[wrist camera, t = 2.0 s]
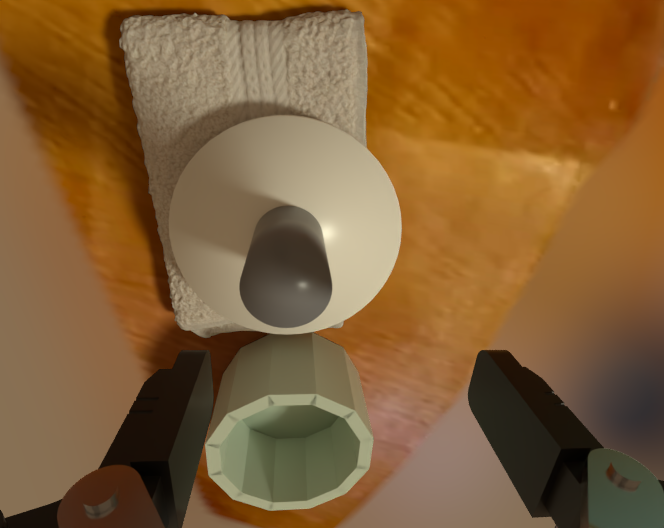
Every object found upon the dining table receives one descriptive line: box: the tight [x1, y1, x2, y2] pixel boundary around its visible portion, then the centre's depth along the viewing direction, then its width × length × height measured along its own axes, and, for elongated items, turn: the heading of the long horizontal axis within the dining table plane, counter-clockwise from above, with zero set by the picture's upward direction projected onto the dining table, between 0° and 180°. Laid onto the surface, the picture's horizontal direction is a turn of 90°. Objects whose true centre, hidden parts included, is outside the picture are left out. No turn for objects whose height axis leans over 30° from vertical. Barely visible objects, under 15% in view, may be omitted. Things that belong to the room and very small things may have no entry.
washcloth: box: [119, 9, 367, 338], centre depth 21 cm, size 12×18×3 cm, turn 1°
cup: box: [205, 332, 374, 511], centre depth 26 cm, size 10×10×6 cm
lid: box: [169, 115, 402, 335], centre depth 18 cm, size 12×12×7 cm
